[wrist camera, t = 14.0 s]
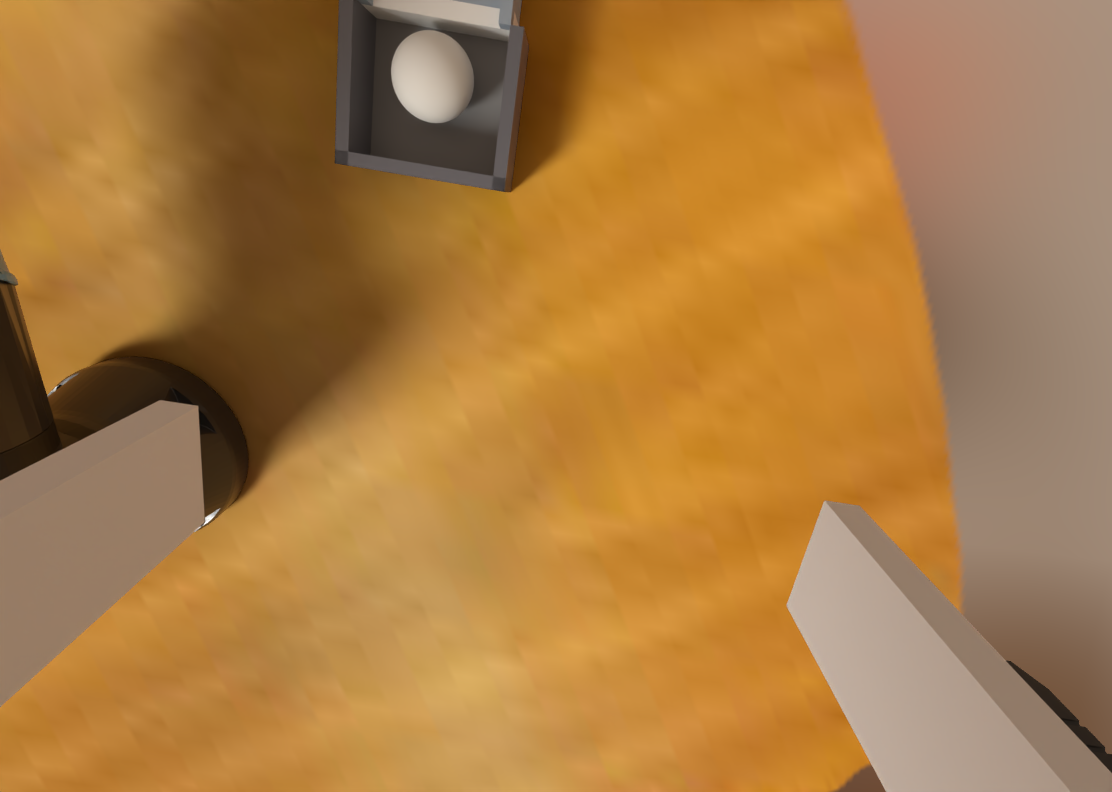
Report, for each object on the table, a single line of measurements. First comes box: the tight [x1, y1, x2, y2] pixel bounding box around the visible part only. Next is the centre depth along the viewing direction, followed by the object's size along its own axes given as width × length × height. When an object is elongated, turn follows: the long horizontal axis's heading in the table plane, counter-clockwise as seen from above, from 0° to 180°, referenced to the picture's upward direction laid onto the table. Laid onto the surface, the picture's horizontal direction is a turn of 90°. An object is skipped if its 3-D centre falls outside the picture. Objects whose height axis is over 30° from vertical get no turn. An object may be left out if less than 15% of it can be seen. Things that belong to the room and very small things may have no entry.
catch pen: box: [335, 0, 529, 192], centre depth 36 cm, size 9×11×4 cm
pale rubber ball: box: [391, 30, 474, 123], centre depth 35 cm, size 5×5×5 cm
